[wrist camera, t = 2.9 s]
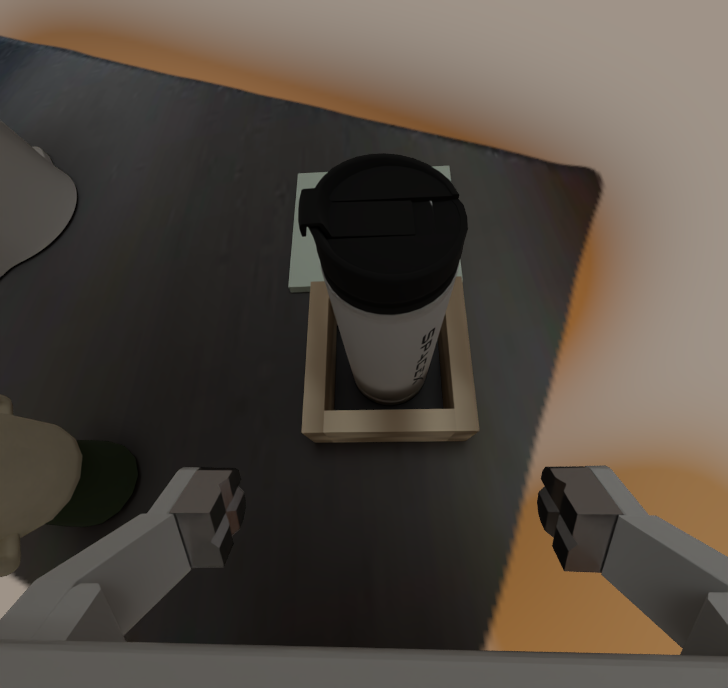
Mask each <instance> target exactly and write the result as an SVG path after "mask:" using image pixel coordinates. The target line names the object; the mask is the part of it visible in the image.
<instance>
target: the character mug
mask: <svg viewBox="0 0 728 688" xmlns="http://www.w3.org/2000/svg"><path fill="white" fill-rule="evenodd" d="M137 477H138V471H137V465H136V460H135V457H134V456H133V455H132V454H131V453H130V452H129V450H128V449H127V448H126V447H125V446H123V445H120V444H116V443H113V442H109V441H96V440H76V439H75V438H74V437H73V436H71V435H70V434H69V433H68V432H66V431H65V430H64V429H63V428H61V427H59V426H57V425H55V424H50V423H46V422H41V421H36V420H32V419H27V418H23V417H18V416H14V415H13V404H12V402H11V399H10V398H8V397H6V396H4V395H1V394H0V577H2V576H7V575H9V574H11V573H12V572H14V571H15V570H16V569H17V568H18V567H19V564H20V560H21V549H20V538H22V537H23V536H25V535H27V534H28V533H30V532H32V531H34V530H35V529H37V528H39V527H40V526H42V525H44V524H50V525H59V526H73V527H88V526H92V525H97V524H101V523H103V522H105V521H106V520H108V519H109V518H110V517H112V516H113V515H115V514H116V513H118V512H119V511H120V510H121V508H122V507H123V506H124V504H125V503H126V502H127V500H128V499H129V498H130V496H131V495H132V493H133V490H134V487H135V484H136V480H137Z"/></svg>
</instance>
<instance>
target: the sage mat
mask: <svg viewBox="0 0 728 688" xmlns="http://www.w3.org/2000/svg"><path fill="white" fill-rule="evenodd" d="M433 168H435V169H437V170H438V171H440V172H441V173H442V174H443V175H444V176H446V177H447V178H448V179H449V180H450V181H451V177H450V169H449V166H435V167H433ZM326 173H328V172H321V173H302V174H298V181H297V193H296V204H295V216H294V227H293V239H292V251H291V262H290V274H289V285H288V287H289V290H290V292H291V293H292V292H310V286H311V282H316V281H324V277H323V274H322V271H321V263H320V259H319V256H318V253H317V249H316V244H315V241H314V238H313V236H312V234H311V232H310V230H309V228H308V227H307V232H306V237H302V235H301V232H300V230H299V223H298V207H299V198H300V194H301V190H302V189H308V188H315V187H316V185H317V184H318V182H319V181H320V180H321V178H322V177H323V176H324V175H325V174H326ZM457 276H462V271H461V262H460V263H459V268H458V273H457ZM457 276H456V277H457ZM462 282H463V280H462Z"/></svg>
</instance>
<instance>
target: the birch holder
mask: <svg viewBox="0 0 728 688" xmlns="http://www.w3.org/2000/svg"><path fill="white" fill-rule="evenodd" d="M336 336H337V321H336V317H335V314H334V311H333V307H332V304H331V301H330V297H329V294H328V291H327V288H326V284H325V281H316V282H311V286H310V302H309V319H308V335H307V352H306V368H305V384H304V401H303V417H302V433H303V434H304V435H305V436H307V437H308V438H309V439H311V440H312V441H314V442H315V443H321V442H421V441H466V440H468V439H469V438H470V437H472V436H473V435H474V434H476V433H477V432H478V431H479V423H478V414H477V405H476V397H475V388H474V380H473V371H472V362H471V354H470V345H469V337H468V328H467V319H466V311H465V302H464V294H463V285H462V276H457V277H456V279H455V282H454V286H453V289H452V293H451V296H450V299H449V303H448V306H447V309H446V313H445V316H444V319H443V323H442V326H441V329H440V332H439V336H438V347H439V359H440V371H441V383H442V395H443V408H444V409H402V410H336V411H334V406H335V371H336Z"/></svg>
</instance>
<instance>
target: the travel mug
mask: <svg viewBox="0 0 728 688" xmlns="http://www.w3.org/2000/svg"><path fill="white" fill-rule="evenodd" d="M458 198H459V194H458V192H457V191H456V189H455V188H454V186H453V184H452V183H451V181H450V180H449V179H448V178H447V177H446V176H444V175H443V174H442V173H441V172H440V171H438V170H437V169H435V168H433V167H431V166H430V165H428V164H426V163H424V162H421V161H419V160H416V159H414V158H410V157H406V156H402V155H395V154H369V155H364V156H359V157H355V158H352V159H350V160H347V161H344V162H342V163H341V164H339V165H337V166H335V167H334V168H332V169H331V170H330V171H329V172H328V173H326V174H325V175H324V176H323V177H322V178H321V180H320V181H319V182H318V184H317V185H316V187H315V188H308V189H302V190H301V194H300V198H299V207H298V223H299V230H300V232H301V235H302V237H306V232H307V227H308V228H309V230H310V232H311V234H312V236H313V238H314V241H315V244H316V249H317V253H318V256H319V259H320V263H321V271H322V274H323V277H324V281H325V284H326V288H327V291H328V294H329V297H330V301H331V304H332V307H333V311H334V314H335V317H336V321H337V324H338V327H339V331H340V334H341V337H342V340H343V344H344V347H345V350H346V354H347V357H348V360H349V364H350V367H351V370H352V373H353V377H354V380H355V383H356V385H357V387H358V389H359V390H360V391H361V393H362V394H363V395H364V396H365V397H367V398H368V399H369V400H371V401H373V402H375V403H378V404H382V405H391V406H392V405H399V404H402V403H405V402H407V401H409V400H410V399H412V398H413V397H414V396H415V395H417V394H418V392H419V391H420V390H421V388H422V386H423V384H424V382H425V379H426V375H427V372H428V369H429V366H430V362H431V359H432V356H433V352H434V349H435V346H436V342H437V339H438V336H439V332H440V329H441V326H442V323H443V319H444V316H445V313H446V309H447V306H448V303H449V299H450V296H451V293H452V289H453V286H454V282H455V279H456V276H457V273H458V268H459V263H460V258H461V254H462V249H463V244H464V241H465V237H466V233H467V230H468V226H467V215H466V212H465V208H464V205H463V204H462V203H461V202H460V200H459V199H458Z"/></svg>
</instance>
